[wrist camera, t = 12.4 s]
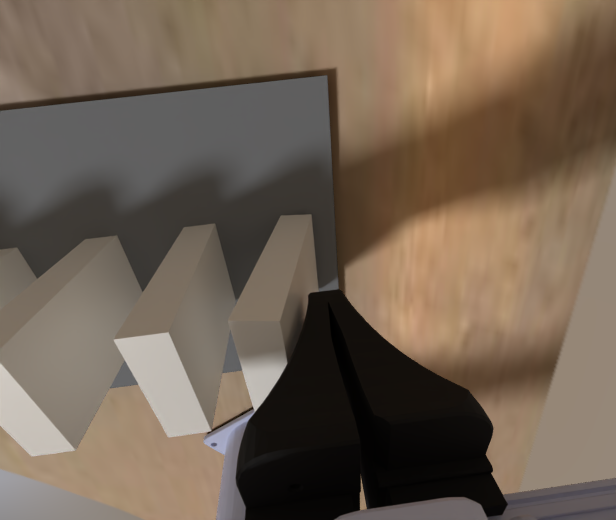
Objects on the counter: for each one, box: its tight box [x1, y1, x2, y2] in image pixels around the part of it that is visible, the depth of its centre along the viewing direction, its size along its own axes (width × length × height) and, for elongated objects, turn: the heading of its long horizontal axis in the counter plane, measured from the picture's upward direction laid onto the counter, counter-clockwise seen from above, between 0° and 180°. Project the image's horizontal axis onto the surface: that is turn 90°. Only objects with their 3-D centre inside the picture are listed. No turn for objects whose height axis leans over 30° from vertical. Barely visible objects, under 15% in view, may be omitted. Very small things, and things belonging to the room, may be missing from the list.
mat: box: [0, 75, 339, 388], centre depth 17 cm, size 24×17×1 cm
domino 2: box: [113, 224, 236, 437], centre depth 14 cm, size 2×5×8 cm, turn 6°
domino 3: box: [228, 214, 319, 411], centre depth 14 cm, size 2×5×8 cm, turn 5°
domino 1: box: [0, 235, 143, 456], centre depth 14 cm, size 2×5×8 cm, turn 6°
